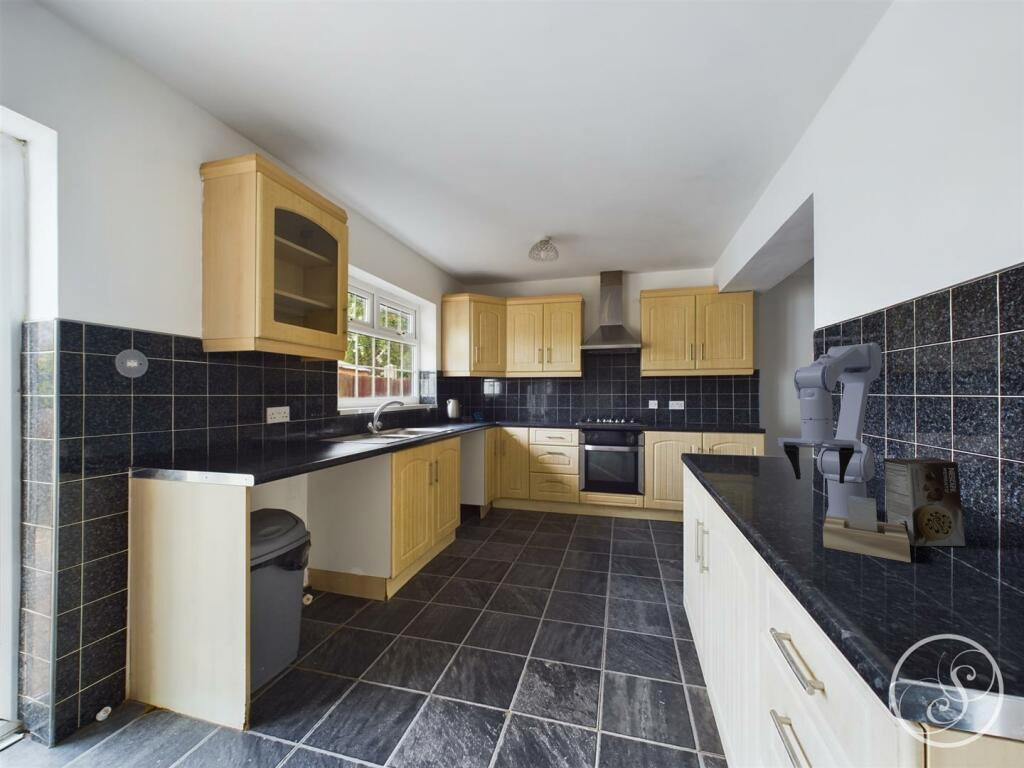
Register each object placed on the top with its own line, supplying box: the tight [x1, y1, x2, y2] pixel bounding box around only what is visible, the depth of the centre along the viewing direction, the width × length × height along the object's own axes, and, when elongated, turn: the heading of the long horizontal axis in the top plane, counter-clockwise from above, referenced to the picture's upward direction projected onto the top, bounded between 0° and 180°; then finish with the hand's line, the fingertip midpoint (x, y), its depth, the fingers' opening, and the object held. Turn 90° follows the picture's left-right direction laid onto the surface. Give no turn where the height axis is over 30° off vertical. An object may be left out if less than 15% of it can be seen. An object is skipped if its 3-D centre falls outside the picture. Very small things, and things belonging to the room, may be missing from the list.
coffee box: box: [883, 457, 966, 547], centre depth 80 cm, size 9×6×16 cm
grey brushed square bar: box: [848, 496, 878, 533], centre depth 78 cm, size 4×4×9 cm
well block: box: [822, 515, 912, 563], centre depth 78 cm, size 12×12×4 cm
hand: (819, 480), depth 89 cm, fingers open, 7 cm apart
